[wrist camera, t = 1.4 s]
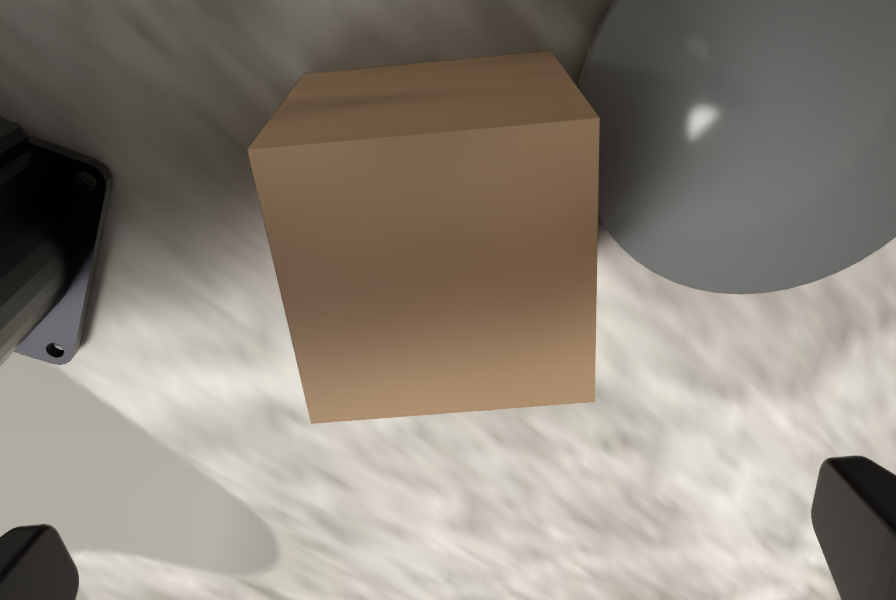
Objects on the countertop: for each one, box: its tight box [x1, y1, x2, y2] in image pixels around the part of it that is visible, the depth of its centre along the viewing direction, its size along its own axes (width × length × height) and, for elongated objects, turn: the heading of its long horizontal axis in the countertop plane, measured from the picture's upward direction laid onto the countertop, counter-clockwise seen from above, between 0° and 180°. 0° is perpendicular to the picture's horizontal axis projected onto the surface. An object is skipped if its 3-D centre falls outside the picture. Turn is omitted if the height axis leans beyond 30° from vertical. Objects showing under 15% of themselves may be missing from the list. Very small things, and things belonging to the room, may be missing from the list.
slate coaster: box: [578, 0, 896, 294], centre depth 18 cm, size 10×10×1 cm
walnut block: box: [247, 51, 600, 424], centre depth 16 cm, size 6×6×6 cm
